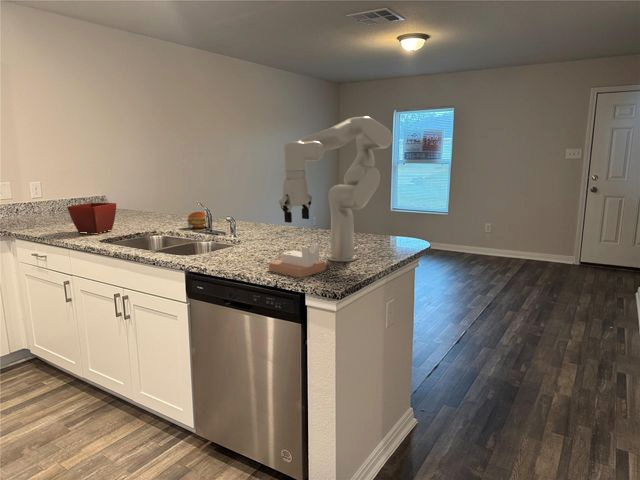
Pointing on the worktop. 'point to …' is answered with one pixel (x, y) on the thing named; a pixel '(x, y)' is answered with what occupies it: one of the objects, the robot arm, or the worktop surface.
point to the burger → (196, 220)
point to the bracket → (302, 256)
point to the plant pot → (93, 217)
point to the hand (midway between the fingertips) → (297, 220)
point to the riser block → (296, 268)
